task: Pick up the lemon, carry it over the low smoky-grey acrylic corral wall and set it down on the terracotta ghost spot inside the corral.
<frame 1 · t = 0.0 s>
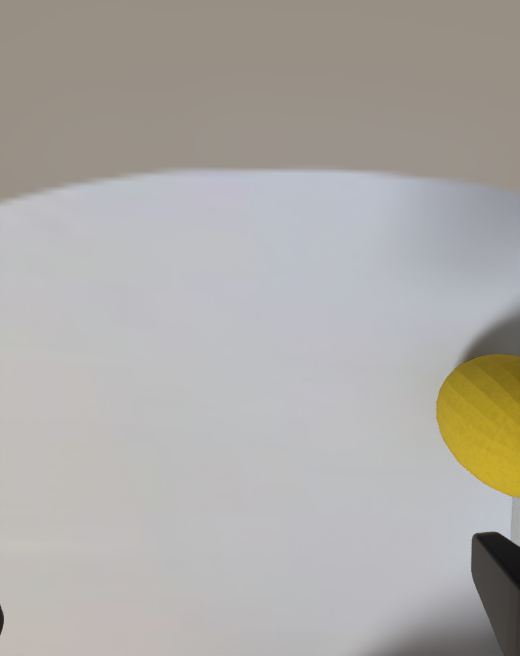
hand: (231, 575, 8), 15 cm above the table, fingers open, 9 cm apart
lemon: (464, 382, 23), on the table
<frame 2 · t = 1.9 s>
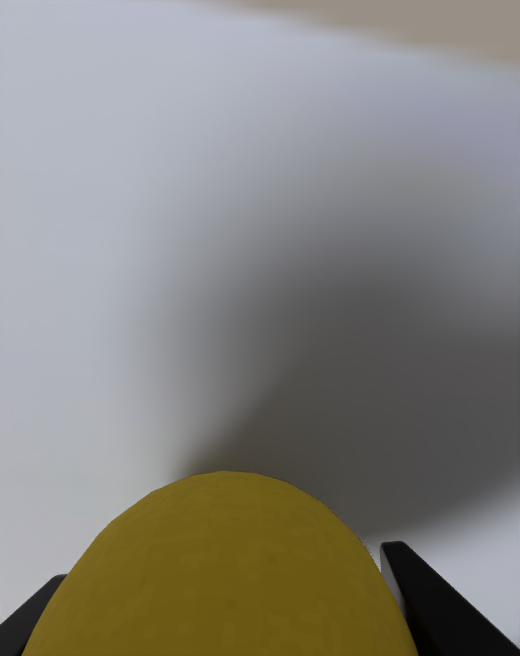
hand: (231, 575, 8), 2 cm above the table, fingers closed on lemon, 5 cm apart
lemon: (236, 503, 10), on the table, touching gripper
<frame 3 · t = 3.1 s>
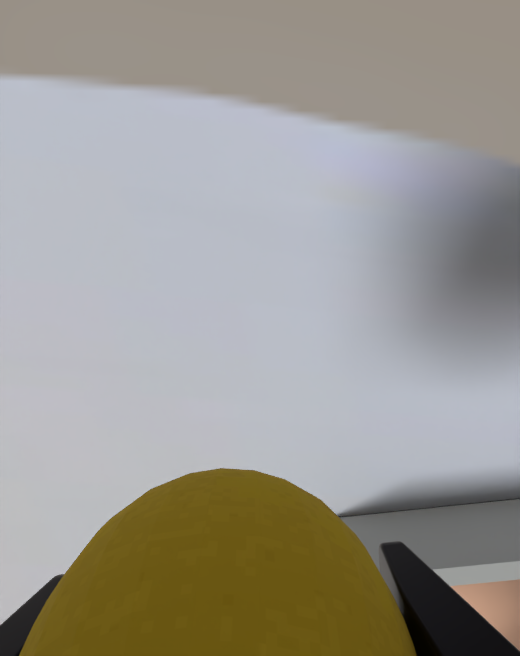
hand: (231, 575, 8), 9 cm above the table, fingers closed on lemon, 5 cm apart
lemon: (235, 501, 10), point 7 cm above the table, touching gripper
corral: (478, 621, 20), on the table
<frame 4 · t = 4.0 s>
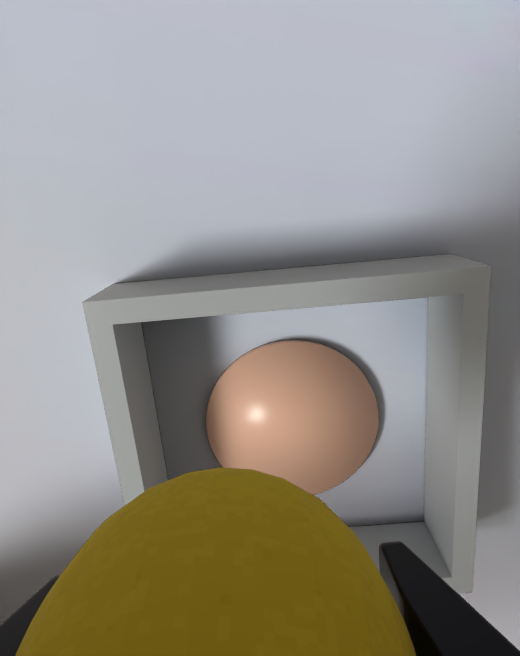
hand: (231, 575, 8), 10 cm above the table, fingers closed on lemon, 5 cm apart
lemon: (234, 500, 10), point 8 cm above the table, touching gripper
corral: (291, 420, 18), on the table
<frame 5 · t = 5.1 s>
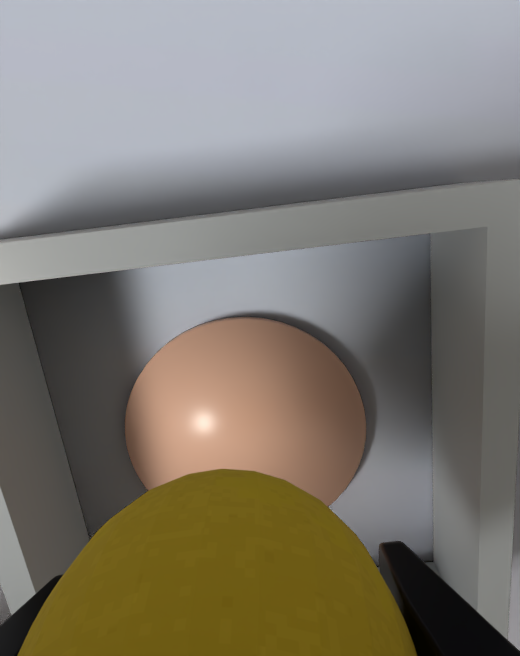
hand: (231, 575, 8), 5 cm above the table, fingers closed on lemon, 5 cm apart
lemon: (235, 501, 10), point 3 cm above the table, touching gripper
corral: (245, 430, 13), on the table
when the fingers open (3 cm above the table, at t = 5.8 s): lemon drops 1 cm, resting on corral.
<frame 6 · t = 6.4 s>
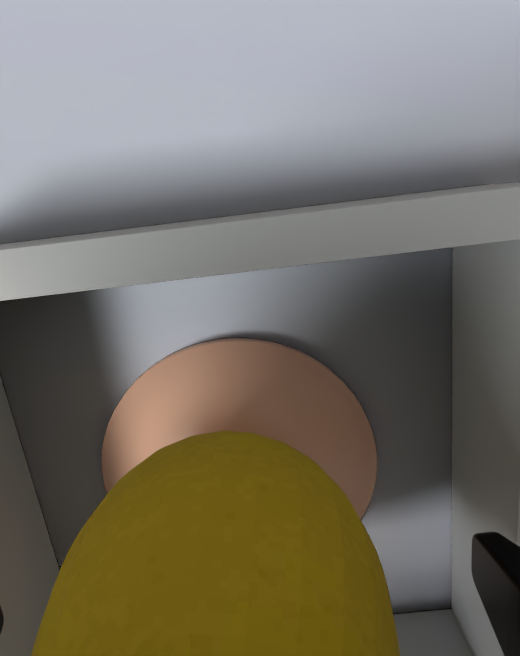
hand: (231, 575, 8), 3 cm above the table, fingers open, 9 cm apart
lemon: (236, 468, 11), resting on corral
corral: (240, 465, 12), on the table
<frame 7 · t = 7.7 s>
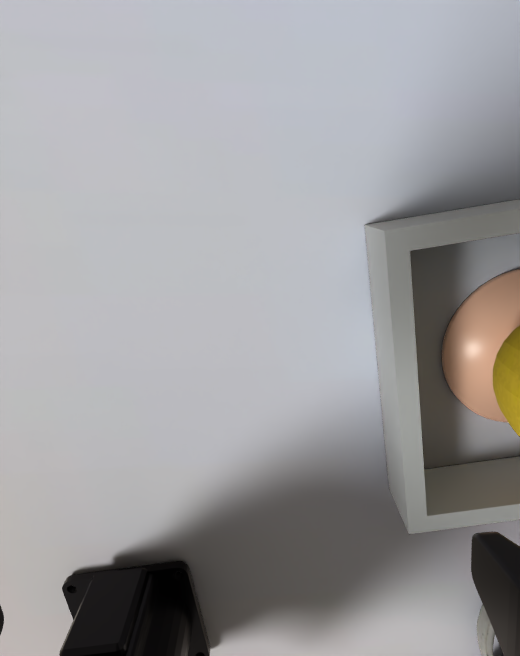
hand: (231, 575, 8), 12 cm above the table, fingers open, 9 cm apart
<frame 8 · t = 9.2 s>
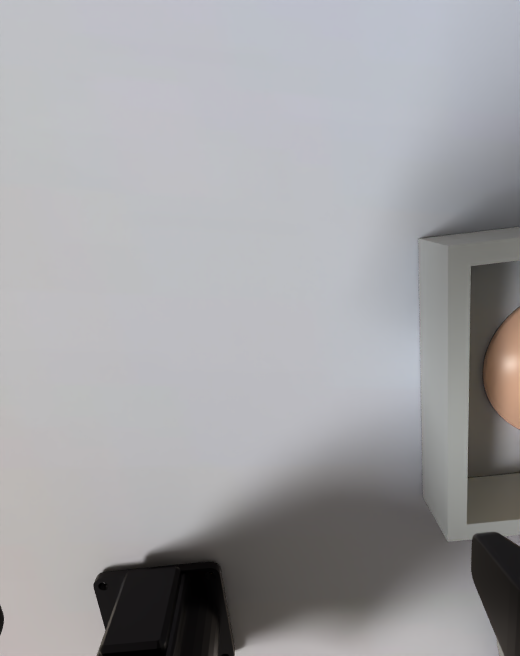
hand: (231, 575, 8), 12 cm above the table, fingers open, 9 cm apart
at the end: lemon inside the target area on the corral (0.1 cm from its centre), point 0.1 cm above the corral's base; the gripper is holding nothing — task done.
